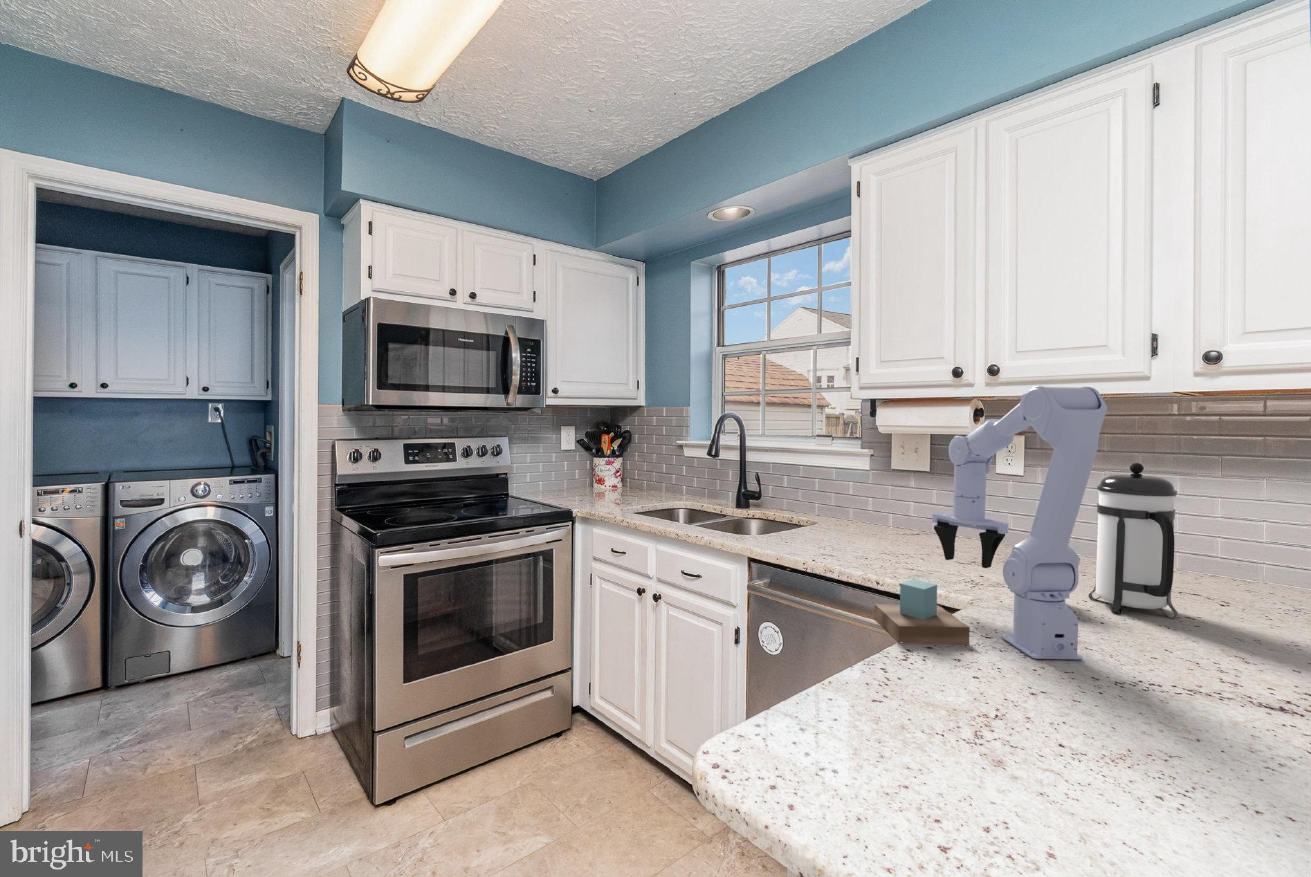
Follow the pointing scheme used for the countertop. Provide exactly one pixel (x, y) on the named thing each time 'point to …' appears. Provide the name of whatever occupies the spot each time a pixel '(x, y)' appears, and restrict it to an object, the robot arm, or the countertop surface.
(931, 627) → the walnut box
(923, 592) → the teal block
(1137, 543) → the coffee press
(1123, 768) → the countertop surface
